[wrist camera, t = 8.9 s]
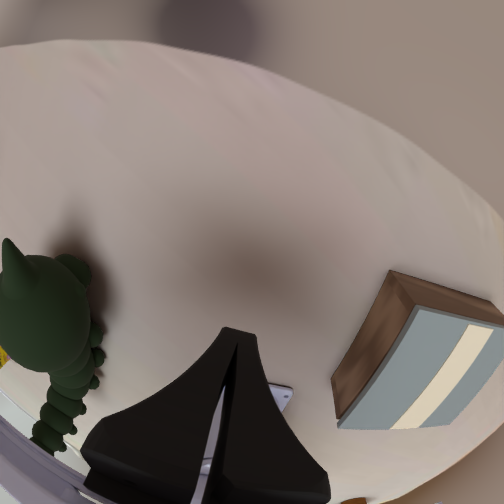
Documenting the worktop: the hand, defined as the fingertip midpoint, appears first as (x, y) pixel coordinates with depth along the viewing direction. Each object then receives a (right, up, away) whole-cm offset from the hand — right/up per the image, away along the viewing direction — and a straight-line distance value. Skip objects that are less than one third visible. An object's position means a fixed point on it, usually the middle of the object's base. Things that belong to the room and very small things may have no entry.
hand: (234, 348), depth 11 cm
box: (+16, -5, +10) cm, 20 cm away
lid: (+16, -7, +5) cm, 18 cm away
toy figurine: (-17, -3, +14) cm, 22 cm away
